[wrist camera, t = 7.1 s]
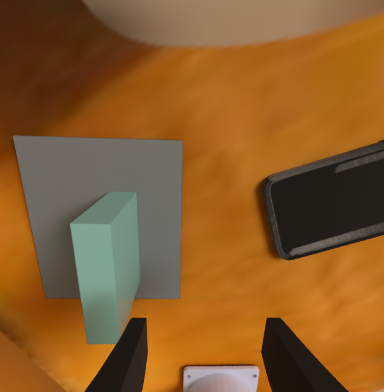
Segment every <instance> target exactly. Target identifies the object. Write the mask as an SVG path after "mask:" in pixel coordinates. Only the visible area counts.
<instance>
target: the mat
mask: <svg viewBox="0 0 384 392" xmlns="http://www.w3.org/2000/svg"><path fill="white" fill-rule="evenodd" d="M13 139H14V144H15V149H16V154H17V159H18V164H19V169H20V174H21V179H22V183H23V188H24V193H25V198H26V203H27V208H28V213H29V218H30V223H31V228H32V233H33V238H34V243H35V248H36V253H37V258H38V263H39V268H40V273H41V278H42V283H43V288H44V293H45V297H46V298H81V296H80V289H79V282H78V275H77V268H76V261H75V254H74V247H73V241H72V234H71V227H70V223H72V222H73V221H74V220H75V219H77V218H78V217H79V216H80V215H82V214H83V213H84V212H85V211H87V210H88V209H89V208H90V207H92V206H93V205H94V204H95V203H97V202H98V201H99V200H100V199H102V198H103V197H104V196H105V195H107V194H108V193H109V192H136V200H137V221H138V242H139V263H140V282H139V285H138V289H137V292H136V295H135V299H180V274H181V212H182V151H183V140H150V139H115V138H81V137H46V136H13Z"/></svg>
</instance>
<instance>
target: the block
mask: <svg viewBox="0 0 384 392" xmlns="http://www.w3.org/2000/svg"><path fill="white" fill-rule="evenodd" d="M70 227H71V234H72V241H73V247H74V254H75V261H76V268H77V275H78V282H79V289H80V296H81V303H82V309H83V316H84V323H85V330H86V337H87V344H117V342H118V341H119V339H120V337H121V335H122V334H123V332H124V330H125V328H126V325H127V321H128V318H129V315H130V312H131V308H132V305H133V302H134V299H135V295H136V292H137V289H138V285H139V282H140V263H139V242H138V221H137V200H136V192H109V193H108V194H107V195H105V196H104V197H103V198H102V199H100V200H99V201H98V202H97V203H95V204H94V205H93V206H92V207H90V208H89V209H88V210H87V211H85V212H84V213H83V214H82V215H80V216H79V217H78V218H77V219H75V220H74V221H73V222H72V223H70Z"/></svg>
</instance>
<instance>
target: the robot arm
mask: <svg viewBox="0 0 384 392" xmlns="http://www.w3.org/2000/svg"><path fill="white" fill-rule="evenodd" d="M261 353H262V357H263V361H264V365H265V369H266V373H267V377H268V380H269V383H270V386H271V389H272V392H348V391H347V390H346V389H345V388H344V387H343V386H342V385H341V384H340V383H339V382H338V381H337V380H336V378H335V377H334V376H333V375H332V374H331V373H330V372H329V371H328V370H327V369H326V368H325V367H324V366H323V365H322V364H321V363H320V362H319V360H318V359H317V358H316V357H315V356H314V355H313V354H312V353H311V352H310V351H309V350H308V348H307V347H306V346H305V345H304V344H303V343H302V342H301V341H300V339H299V338H298V337H297V336H296V335H295V334H294V333H293V332H292V330H291V329H290V328H289V327H288V326H287V325H286V324H285V322H284V321H283V320H282V319H281V318H267V320H266V326H265V332H264V338H263V344H262V351H261ZM147 355H148V346H147V321H146V318H132V319H130V321H129V323H128V325H127V327H126V328H125V330H124V332H123V334H122V335H121V337H120V339H119V341H118V342H117V344H116V345H115V347H114V349H113V350H112V352H111V354H110V355H109V357H108V358H107V360H106V361H105V363H104V364H103V366H102V367H101V369H100V370H99V372H98V373H97V375H96V376H95V378H94V379H93V380H92V382H91V383H90V385H89V386H88V388H87V389H86V390H85V392H142V388H143V383H144V377H145V370H146V363H147ZM258 377H259V369H258V367H257V366H187V367H185V368H184V375H183V392H256V390H257V383H258Z"/></svg>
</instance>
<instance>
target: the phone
mask: <svg viewBox="0 0 384 392" xmlns="http://www.w3.org/2000/svg"><path fill="white" fill-rule="evenodd" d="M262 195H263V199H265V200H264V204H265V209H266V213H267V218H268V222H269V227H270V232H271V236H272V241H273V245H274V249H275V251H276V252H277V254H278V255H279V256H280V257H281V258H282V259H284V260H294V259H298V258H301V257H305V256H308V255H312V254H316V253H319V252H323V251H327V250H330V249H334V248H338V247H341V246H345V245H349V244H352V243H356V242H360V241H363V240H367V239H371V238H374V237H378V236H381V235H384V140H383V141H381V142H378V143H375V144H371V145H368V146H365V147H361V148H358V149H355V150H351V151H348V152H345V153H341V154H338V155H335V156H331V157H328V158H325V159H321V160H318V161H315V162H311V163H308V164H305V165H301V166H298V167H295V168H291V169H288V170H285V171H281V172H278V173H275V174H272V175H270V176H268V177H267V178H266V179H265V180H264V182H263V184H262Z"/></svg>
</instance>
